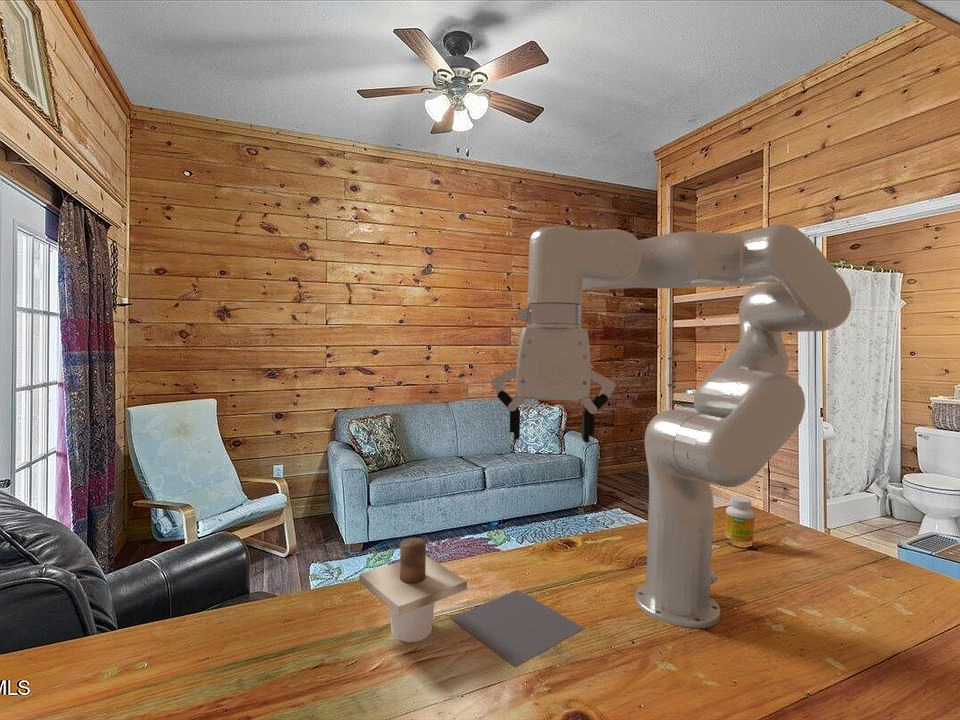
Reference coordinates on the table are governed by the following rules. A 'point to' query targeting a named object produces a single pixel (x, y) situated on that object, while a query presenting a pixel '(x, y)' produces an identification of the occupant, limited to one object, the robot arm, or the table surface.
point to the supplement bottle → (739, 520)
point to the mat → (516, 626)
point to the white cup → (412, 624)
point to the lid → (412, 579)
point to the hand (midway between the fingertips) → (550, 439)
